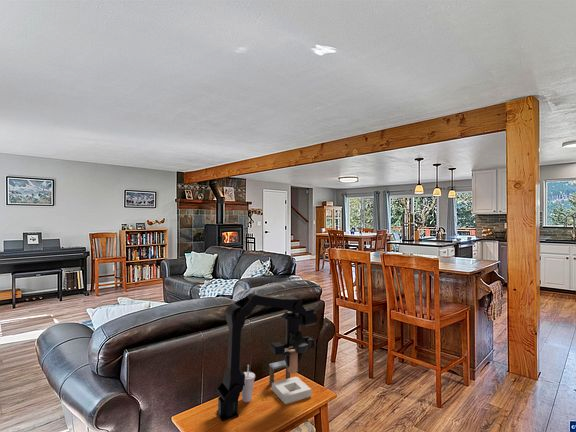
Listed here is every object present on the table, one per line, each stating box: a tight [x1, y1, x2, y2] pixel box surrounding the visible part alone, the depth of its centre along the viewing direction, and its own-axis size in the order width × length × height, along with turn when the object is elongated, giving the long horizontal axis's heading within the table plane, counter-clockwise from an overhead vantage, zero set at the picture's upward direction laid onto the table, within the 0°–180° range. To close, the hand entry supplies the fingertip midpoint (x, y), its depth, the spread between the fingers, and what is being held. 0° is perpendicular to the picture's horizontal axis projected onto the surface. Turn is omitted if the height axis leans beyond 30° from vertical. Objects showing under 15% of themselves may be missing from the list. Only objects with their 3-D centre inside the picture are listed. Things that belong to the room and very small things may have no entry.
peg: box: [288, 348, 299, 374], centre depth 137 cm, size 4×4×8 cm
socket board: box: [271, 376, 312, 405], centre depth 138 cm, size 12×12×3 cm
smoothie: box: [240, 364, 256, 403], centre depth 133 cm, size 6×6×14 cm
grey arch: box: [268, 359, 291, 386], centre depth 146 cm, size 10×4×9 cm, turn 118°
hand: (292, 365), depth 137 cm, fingers closed on peg, 4 cm apart
